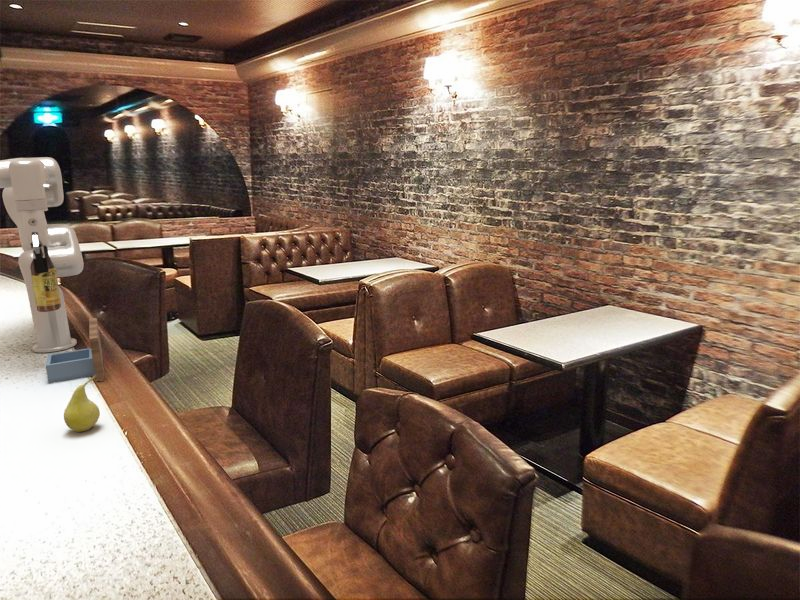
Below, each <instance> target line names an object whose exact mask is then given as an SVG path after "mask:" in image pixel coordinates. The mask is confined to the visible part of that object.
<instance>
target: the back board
mask: <svg viewBox="0 0 800 600" xmlns="http://www.w3.org/2000/svg"><path fill="white" fill-rule="evenodd" d="M88 324H89V325H88V326H89V327H88V332H89V333H88V335H89V337H88V338H89V344H90V348H91V352H92V358H93V364H94V370H95V375H96V378H95V381H96V383H98V382H97V381H101V380H105V379H104V378H105V368H104V367H105V366H103V365H104V357H103V350H102V344H101V338H100V337H101V335H100V331H99V324H98V319H97V317H94V318H89V319H88ZM105 381H106V380H105ZM101 382H102V381H101Z"/></svg>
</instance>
